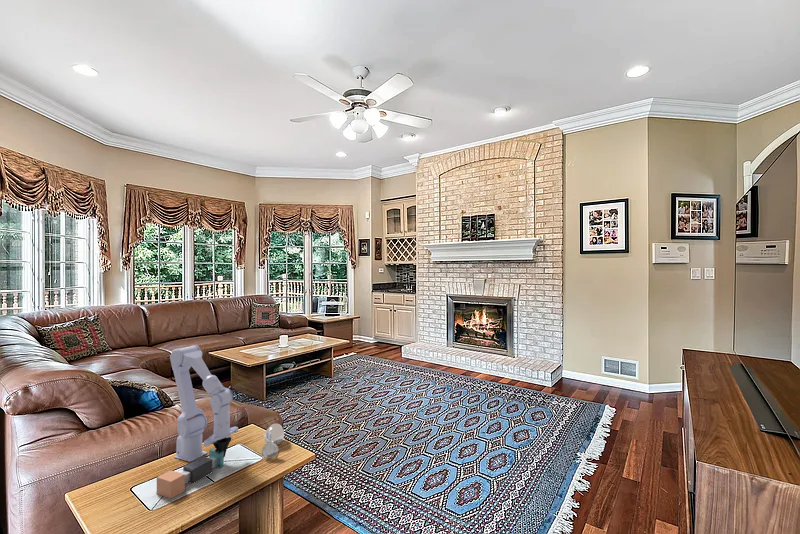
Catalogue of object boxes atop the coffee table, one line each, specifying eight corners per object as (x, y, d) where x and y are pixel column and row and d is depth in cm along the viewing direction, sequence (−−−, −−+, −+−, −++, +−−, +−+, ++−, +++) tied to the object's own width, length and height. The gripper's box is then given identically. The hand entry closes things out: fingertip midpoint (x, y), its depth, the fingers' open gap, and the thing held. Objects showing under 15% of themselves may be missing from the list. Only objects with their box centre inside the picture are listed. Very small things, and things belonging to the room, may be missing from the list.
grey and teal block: (172, 484, 132) (172, 468, 132) (212, 463, 147) (212, 448, 147) (183, 488, 130) (183, 472, 130) (223, 466, 145) (223, 451, 145)
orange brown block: (156, 493, 127) (156, 477, 128) (170, 485, 132) (170, 470, 132) (170, 498, 125) (170, 481, 125) (184, 490, 129) (184, 474, 129)
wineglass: (283, 456, 152) (287, 435, 170) (277, 437, 152) (282, 418, 169) (262, 463, 151) (268, 441, 168) (257, 444, 150) (263, 424, 168)
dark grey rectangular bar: (183, 480, 135) (183, 466, 135) (202, 469, 143) (202, 456, 143) (193, 483, 133) (193, 469, 133) (212, 472, 141) (212, 459, 141)
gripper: (213, 431, 139) (213, 468, 139) (243, 417, 153) (243, 451, 153) (199, 428, 142) (199, 464, 142) (230, 414, 155) (230, 447, 155)
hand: (221, 457), depth 147 cm, fingers closed
